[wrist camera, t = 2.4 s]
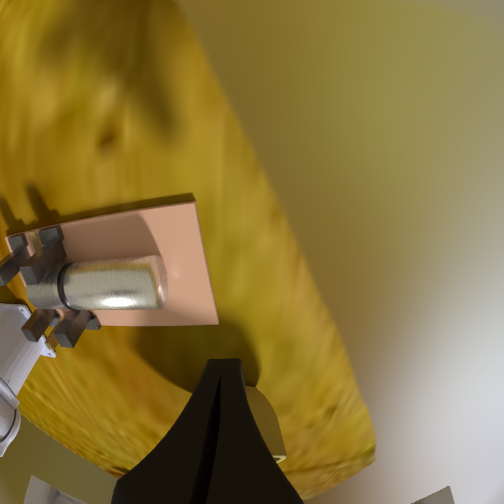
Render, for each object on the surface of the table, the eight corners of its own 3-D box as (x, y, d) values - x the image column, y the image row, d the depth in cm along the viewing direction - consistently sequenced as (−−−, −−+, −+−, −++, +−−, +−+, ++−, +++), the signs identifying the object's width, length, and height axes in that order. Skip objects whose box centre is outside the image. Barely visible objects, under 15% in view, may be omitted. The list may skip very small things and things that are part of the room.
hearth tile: (45, 318, 22) (43, 321, 22) (8, 235, 18) (5, 238, 17) (219, 320, 22) (218, 324, 21) (195, 200, 17) (194, 203, 17)
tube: (56, 300, 20) (32, 314, 16) (47, 262, 19) (21, 272, 16) (171, 298, 19) (154, 318, 16) (163, 250, 19) (143, 261, 15)
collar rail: (50, 322, 22) (31, 350, 18) (11, 235, 17) (-18, 258, 13) (101, 325, 22) (83, 359, 18) (60, 224, 17) (26, 250, 13)
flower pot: (282, 381, 26) (290, 458, 18) (249, 415, 30) (249, 478, 22) (200, 359, 24) (187, 443, 16) (180, 399, 28) (168, 465, 20)
